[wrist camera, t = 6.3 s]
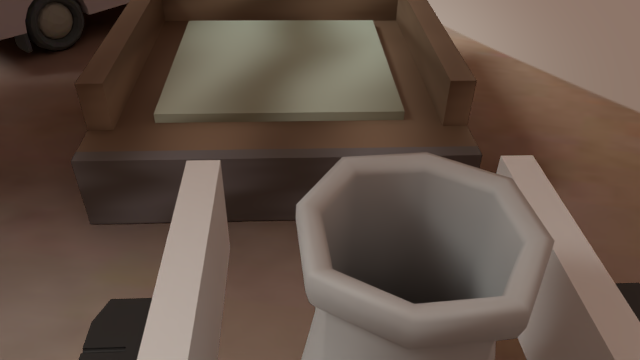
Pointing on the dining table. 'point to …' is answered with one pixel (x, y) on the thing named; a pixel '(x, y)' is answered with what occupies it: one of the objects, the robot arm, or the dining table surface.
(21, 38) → the toy vehicle
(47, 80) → the dining table surface
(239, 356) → the dining table surface
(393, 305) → the flask
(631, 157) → the dining table surface
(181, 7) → the dock
